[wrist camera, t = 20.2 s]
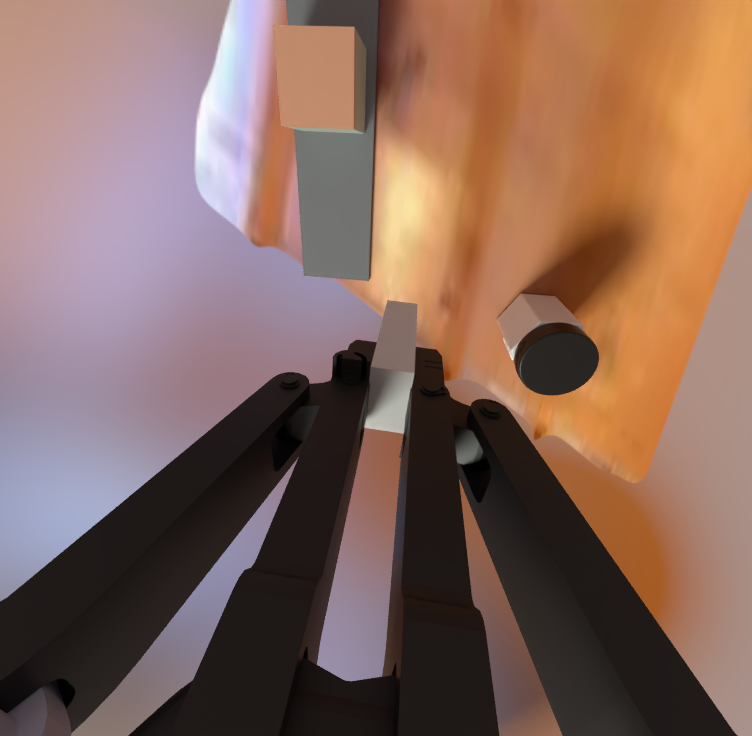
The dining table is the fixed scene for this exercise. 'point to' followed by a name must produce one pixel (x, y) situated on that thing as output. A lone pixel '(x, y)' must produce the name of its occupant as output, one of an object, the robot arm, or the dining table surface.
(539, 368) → the jar
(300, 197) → the mat
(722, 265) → the dining table surface
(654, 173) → the dining table surface
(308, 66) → the block
